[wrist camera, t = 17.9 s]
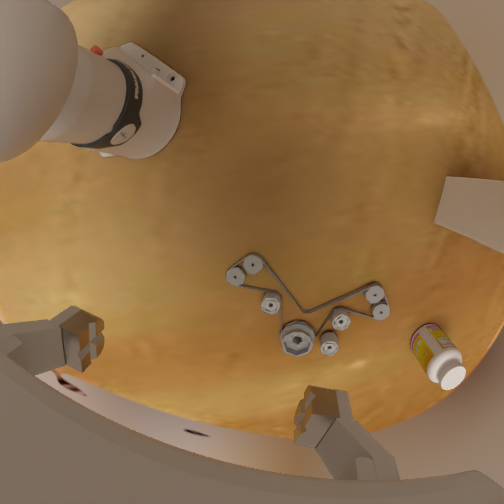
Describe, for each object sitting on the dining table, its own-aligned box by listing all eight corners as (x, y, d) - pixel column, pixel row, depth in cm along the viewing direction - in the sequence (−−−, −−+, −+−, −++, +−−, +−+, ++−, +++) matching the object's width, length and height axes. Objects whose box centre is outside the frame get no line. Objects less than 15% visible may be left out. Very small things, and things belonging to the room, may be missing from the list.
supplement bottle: (414, 359, 47) (438, 401, 35) (405, 335, 46) (431, 377, 34) (443, 340, 45) (472, 379, 33) (435, 315, 44) (468, 353, 32)
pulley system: (364, 357, 49) (396, 285, 44) (367, 373, 45) (404, 298, 40) (218, 323, 52) (233, 244, 47) (211, 338, 47) (226, 254, 42)
